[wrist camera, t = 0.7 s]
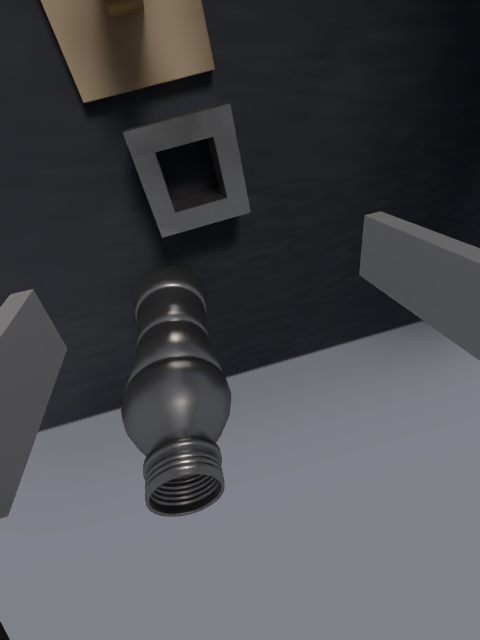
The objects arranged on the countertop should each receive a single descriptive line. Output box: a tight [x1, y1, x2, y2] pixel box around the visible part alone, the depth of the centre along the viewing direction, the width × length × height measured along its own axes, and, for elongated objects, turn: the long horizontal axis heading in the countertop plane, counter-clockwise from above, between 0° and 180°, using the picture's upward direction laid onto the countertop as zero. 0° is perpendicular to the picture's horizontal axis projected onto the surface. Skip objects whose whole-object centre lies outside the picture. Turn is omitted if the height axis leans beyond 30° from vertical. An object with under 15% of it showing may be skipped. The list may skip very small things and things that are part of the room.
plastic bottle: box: [121, 266, 231, 516], centre depth 22 cm, size 6×7×20 cm
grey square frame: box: [123, 104, 250, 238], centre depth 23 cm, size 7×7×4 cm
